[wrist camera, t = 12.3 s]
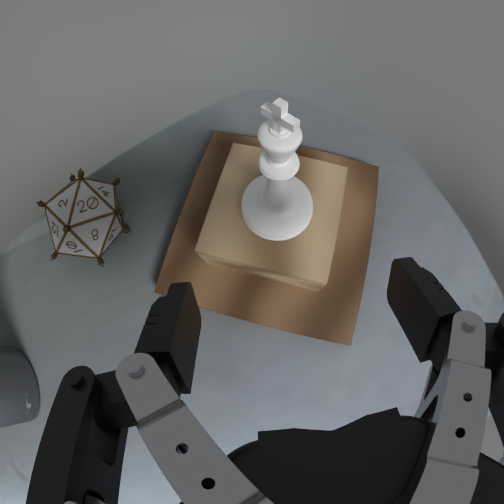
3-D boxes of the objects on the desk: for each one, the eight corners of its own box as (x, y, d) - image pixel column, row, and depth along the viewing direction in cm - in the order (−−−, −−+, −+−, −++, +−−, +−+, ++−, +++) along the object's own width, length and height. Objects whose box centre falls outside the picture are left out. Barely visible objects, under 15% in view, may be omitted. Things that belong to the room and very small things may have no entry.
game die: (126, 225, 30) (129, 143, 23) (137, 283, 25) (137, 192, 18) (53, 233, 25) (40, 152, 19) (49, 295, 20) (20, 205, 14)
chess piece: (272, 164, 20) (271, 54, 11) (326, 203, 19) (364, 103, 10) (226, 210, 20) (190, 112, 10) (281, 256, 19) (291, 178, 9)
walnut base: (160, 294, 24) (135, 285, 19) (216, 140, 27) (207, 107, 22) (345, 344, 21) (364, 348, 17) (374, 174, 25) (391, 145, 20)
